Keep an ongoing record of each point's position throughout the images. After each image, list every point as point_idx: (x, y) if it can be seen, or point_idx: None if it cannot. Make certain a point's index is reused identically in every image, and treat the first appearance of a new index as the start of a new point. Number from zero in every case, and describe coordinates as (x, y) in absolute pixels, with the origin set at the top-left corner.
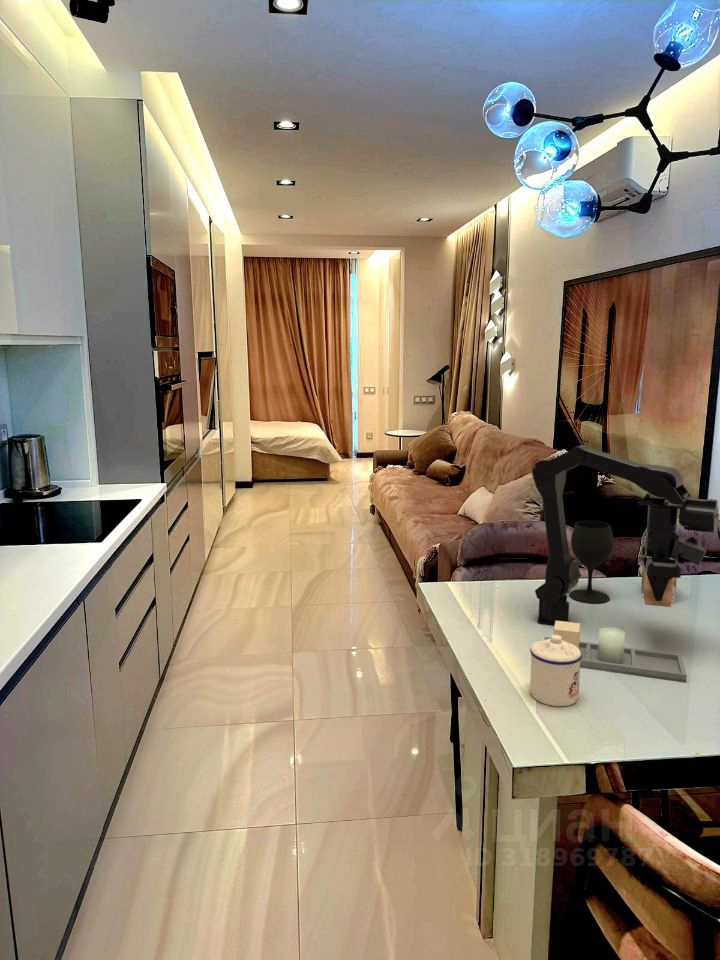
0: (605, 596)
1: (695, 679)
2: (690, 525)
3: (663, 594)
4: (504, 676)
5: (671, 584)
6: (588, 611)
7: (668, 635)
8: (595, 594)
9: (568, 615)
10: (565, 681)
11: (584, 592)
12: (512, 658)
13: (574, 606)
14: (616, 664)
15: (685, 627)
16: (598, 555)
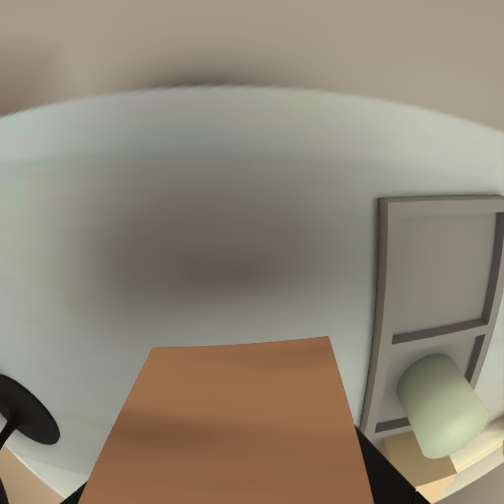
0: (2, 385)
1: (480, 166)
2: None
3: (378, 450)
4: (477, 463)
5: (372, 500)
6: (98, 428)
7: (141, 237)
8: (13, 407)
9: None
10: None
11: (23, 426)
12: None
13: (91, 445)
14: (479, 364)
15: (47, 186)
16: None
